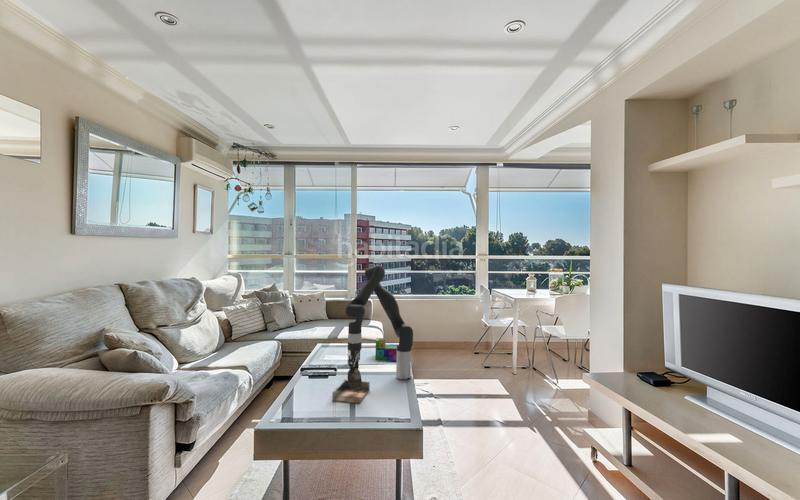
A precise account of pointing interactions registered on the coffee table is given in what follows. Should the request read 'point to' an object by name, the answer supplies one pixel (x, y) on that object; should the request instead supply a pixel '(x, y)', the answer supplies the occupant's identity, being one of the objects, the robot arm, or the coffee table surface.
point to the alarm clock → (354, 379)
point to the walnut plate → (351, 396)
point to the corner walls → (346, 385)
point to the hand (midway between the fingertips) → (354, 370)
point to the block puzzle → (385, 350)
